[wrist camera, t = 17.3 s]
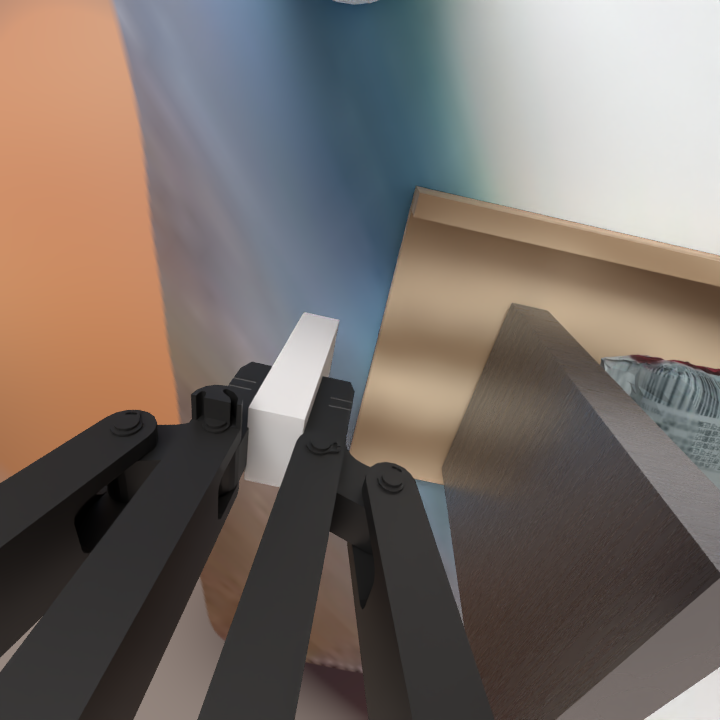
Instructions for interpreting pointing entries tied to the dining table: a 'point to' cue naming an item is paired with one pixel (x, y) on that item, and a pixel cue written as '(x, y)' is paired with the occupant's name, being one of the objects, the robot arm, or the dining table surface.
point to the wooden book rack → (492, 302)
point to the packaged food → (676, 403)
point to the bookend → (578, 537)
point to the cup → (356, 1)
